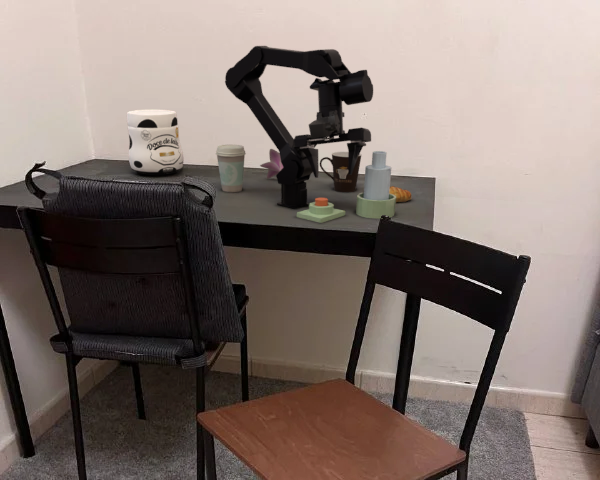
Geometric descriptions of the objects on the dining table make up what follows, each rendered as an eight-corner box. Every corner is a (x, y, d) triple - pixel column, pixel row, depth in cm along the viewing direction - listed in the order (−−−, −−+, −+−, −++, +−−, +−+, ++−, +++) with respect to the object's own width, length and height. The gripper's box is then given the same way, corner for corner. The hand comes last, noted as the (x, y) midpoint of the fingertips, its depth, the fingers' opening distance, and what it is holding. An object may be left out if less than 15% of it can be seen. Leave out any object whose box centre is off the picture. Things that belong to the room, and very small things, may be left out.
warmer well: (348, 213, 160) (349, 196, 158) (370, 206, 167) (371, 189, 165) (380, 221, 155) (381, 202, 152) (401, 213, 161) (403, 196, 159)
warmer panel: (296, 217, 157) (296, 205, 155) (321, 210, 163) (321, 198, 162) (320, 223, 152) (321, 210, 151) (345, 215, 159) (345, 203, 157)
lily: (307, 184, 194) (302, 153, 193) (294, 175, 183) (289, 143, 182) (272, 194, 198) (267, 164, 198) (257, 185, 187) (252, 154, 187)
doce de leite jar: (169, 180, 192) (164, 116, 182) (120, 175, 196) (112, 113, 186) (193, 169, 206) (189, 110, 197) (146, 166, 210) (140, 108, 201)
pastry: (406, 197, 177) (408, 183, 175) (414, 203, 172) (416, 188, 170) (375, 197, 176) (376, 184, 174) (382, 204, 170) (383, 189, 168)
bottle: (357, 211, 160) (361, 152, 153) (372, 207, 164) (376, 149, 157) (378, 215, 157) (382, 155, 149) (392, 211, 161) (397, 152, 153)
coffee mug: (365, 189, 184) (367, 154, 179) (346, 194, 179) (348, 158, 174) (335, 183, 191) (336, 149, 186) (317, 187, 186) (318, 152, 180)
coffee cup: (211, 189, 181) (209, 146, 175) (233, 185, 187) (231, 143, 180) (231, 194, 176) (229, 150, 170) (252, 190, 182) (251, 146, 175)
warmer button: (312, 206, 156) (312, 198, 155) (320, 203, 158) (320, 196, 157) (322, 208, 154) (322, 201, 154) (330, 205, 157) (330, 198, 156)
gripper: (281, 109, 146) (285, 178, 151) (353, 98, 138) (356, 172, 143) (301, 114, 156) (305, 179, 160) (371, 104, 148) (372, 173, 152)
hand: (333, 176), depth 154 cm, fingers open, 9 cm apart
